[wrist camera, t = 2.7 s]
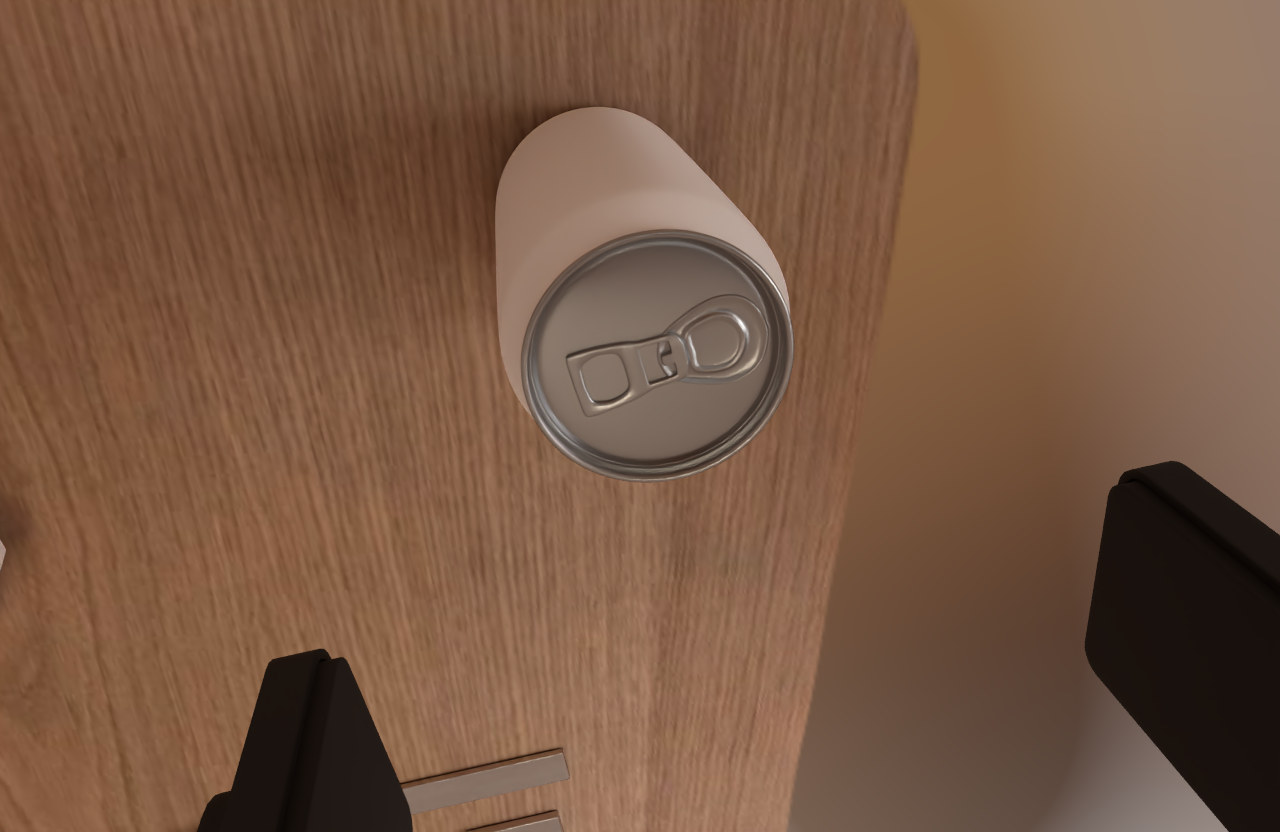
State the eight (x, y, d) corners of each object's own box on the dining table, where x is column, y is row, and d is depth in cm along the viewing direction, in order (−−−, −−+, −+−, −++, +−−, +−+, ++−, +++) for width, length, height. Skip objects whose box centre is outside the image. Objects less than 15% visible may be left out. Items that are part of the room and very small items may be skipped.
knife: (562, 747, 39) (564, 766, 39) (569, 774, 40) (571, 792, 39) (197, 829, 38) (191, 850, 38) (213, 854, 39) (207, 874, 38)
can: (713, 270, 30) (837, 448, 19) (532, 327, 30) (556, 536, 19) (667, 75, 26) (785, 162, 16) (464, 139, 26) (448, 268, 16)
